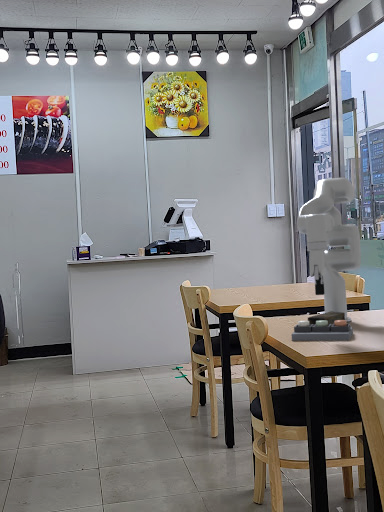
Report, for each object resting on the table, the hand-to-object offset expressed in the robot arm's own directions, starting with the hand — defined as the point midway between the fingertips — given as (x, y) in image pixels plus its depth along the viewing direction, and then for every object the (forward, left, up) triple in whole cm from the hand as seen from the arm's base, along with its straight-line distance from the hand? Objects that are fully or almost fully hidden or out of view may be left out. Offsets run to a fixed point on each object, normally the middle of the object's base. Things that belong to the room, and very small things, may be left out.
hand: (320, 294), depth 241 cm
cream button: (0, -7, -12) cm, 14 cm away
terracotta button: (0, +7, -12) cm, 14 cm away
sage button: (0, 0, -12) cm, 12 cm away
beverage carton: (-19, -1, -17) cm, 26 cm away
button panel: (0, 0, -16) cm, 16 cm away
